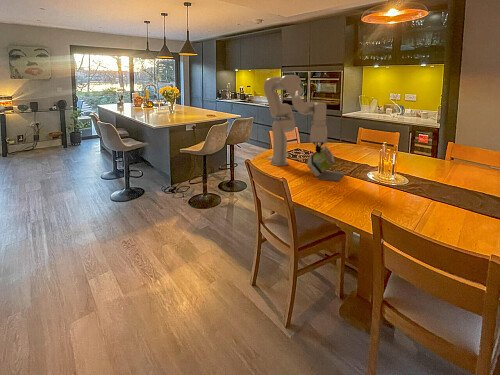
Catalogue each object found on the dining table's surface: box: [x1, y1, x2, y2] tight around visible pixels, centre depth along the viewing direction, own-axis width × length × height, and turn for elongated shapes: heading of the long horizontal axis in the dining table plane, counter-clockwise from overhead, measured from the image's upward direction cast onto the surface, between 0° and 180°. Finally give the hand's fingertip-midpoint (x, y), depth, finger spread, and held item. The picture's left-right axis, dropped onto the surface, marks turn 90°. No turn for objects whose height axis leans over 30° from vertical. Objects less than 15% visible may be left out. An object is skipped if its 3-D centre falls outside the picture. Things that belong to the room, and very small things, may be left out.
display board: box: [316, 169, 346, 183], centre depth 218 cm, size 13×18×1 cm
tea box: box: [306, 145, 336, 178], centre depth 220 cm, size 15×10×15 cm
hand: (318, 152), depth 217 cm, fingers closed
